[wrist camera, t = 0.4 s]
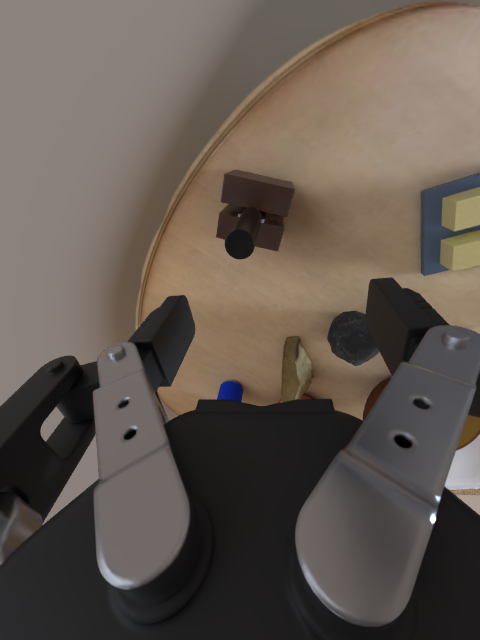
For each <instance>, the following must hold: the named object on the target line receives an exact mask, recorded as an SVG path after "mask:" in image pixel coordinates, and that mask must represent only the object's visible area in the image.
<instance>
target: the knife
mask: <svg viewBox="0 0 480 640" xmlns="http://www.w3.org/2000/svg"><path fill="white" fill-rule="evenodd" d="M238 217H239V218H238V220H237V221H236V223H235V224H234V226H233V227H232V229H231V231H230V232H229V234H228V235H227V237H226V239H225V248H226V251H227V252H228V254H229V255H230V256H232V257H233V258H236V259H245V258H247V257H249V256H250V255H251V254H252V252H253V250H254V247H255V243H256V240H257V236H258V232H259V229H260V225H261V223H264V221H265V217H266V212H263V211H259V210H258V209H256V208H254V207H249V208H245V207H243V208H242V210H241V211H240V213H239V214H238Z"/></svg>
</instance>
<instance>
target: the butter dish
mask: <svg viewBox="0 0 480 640" xmlns="http://www.w3.org/2000/svg"><path fill="white" fill-rule="evenodd" d="M477 187H480V173H477V174H474V175H470V176H467V177H464V178H461V179H458V180H455V181H451V182H448V183H445V184H442V185H439V186H435V187H432V188H429V189H426V190H423V191H421V274H423V275H424V276H425V275H430V274H434V273H438V272H443V271H447V270H449V269H447V268H446V267H444V266H443V265H441V264H440V249H441V240H442V239H446V238H450V237H454V236H458V235H462V234H465V233H469V232H473V231H477V230H480V225H477V226H473V227H470V228H466V229H462V230H458V231H452V230H450V229H448V228H446V227H443V226H441V222H442V198H444V197H447V196H451V195H454V194H457V193H461V192H464V191H467V190H471V189H474V188H477Z"/></svg>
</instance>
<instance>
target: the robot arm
mask: <svg viewBox="0 0 480 640" xmlns="http://www.w3.org/2000/svg"><path fill="white" fill-rule="evenodd" d="M366 322H367V326H368V329H369V331H370V333H371V335H372V337H373V339H374V341H375V343H376V345H377V347H378V349H379V351H380V353H381V355H382V357H383V359H384V361H385V363H386V365H387V367H388V369H389V371H390V373H391V375H392V377H391V379H390V381H389V382H388V384H387V385H386V387H385V388H384V390H383V391H382V393H381V395H380V396H379V398H378V399H377V401H376V402H375V404H374V405H373V407H372V409H371V410H370V412H369V413H368V415H367V416H366V418H365V419H364V421H362V420H360V419H358V418H356V417H354V416H351V415H349V414H346V413H343V412H340V411H335V410H334V407H333V402H332V399H296V400H291V401H286V402H282V403H277V404H272V405H268V406H256V405H251V404H247V403H242V402H238V401H233V400H199V401H198V404H197V407H196V410H193V411H190V412H187V413H184V414H182V415H180V416H178V417H176V418H174V419H172V420H170V421H169V420H168V417H167V415H166V412H165V410H164V407H163V405H162V402H161V399H160V397H159V395H158V392H157V389H158V388H159V387H166V386H171V384H172V382H173V380H174V378H175V376H176V374H177V372H178V369H179V367H180V365H181V363H182V361H183V359H184V357H185V355H186V352H187V350H188V348H189V346H190V344H191V342H192V340H193V337H194V335H195V324H194V320H193V317H192V314H191V310H190V307H189V304H188V300H187V298H186V296H184V295H180V296H169V297H167V298H166V300H165V301H164V302H163V304H162V305H161V306H160V307H159V308H157V309H156V310H154V311H153V312H151V313H150V314H149V315H148V317H147V318H146V319H145V321H144V322H143V323H142V324H141V327H139V328H138V329H137V330H136V332H135V333H134V334H133V335H132V337H131V338H130V339H129V340H128V342H121V343H118V344H115V345H113V346H110V347H109V348H107V349H105V350H104V351H103V352H102V353H101V354H100V355H99V357H98V359H97V361H96V362H92V363H88V364H85V365H80V364H79V362H78V361H77V360H76V358H75V357H74V356H64V357H60V358H57V359H55V360H52V361H51V362H49V363H47V364H45V365H44V366H42V367H41V368H40V369H39V370H38V371H37V372H36V373H35V374H34V375H33V376H32V377H31V378H30V379H28V380H27V382H25V384H23V385H22V386H21V387H20V388H19V389H18V390H17V391H16V392H15V393H14V394H13V395H12V396H11V397H10V398H9V399H8V400H7V401H6V402H5V403H4V404H3V405H2V406H0V640H480V515H479V514H477V513H476V512H475V511H474V510H472V509H471V508H470V507H469V506H468V505H467V504H465V503H464V502H463V501H462V500H460V499H459V498H458V497H457V496H456V495H455V494H453V493H452V492H451V491H450V490H448V489H447V488H446V487H445V483H446V480H447V477H448V473H449V470H450V467H451V464H452V461H453V458H454V455H455V452H456V449H457V446H458V443H459V440H460V437H461V434H462V431H463V428H464V425H465V422H466V419H467V415H470V416H474V417H479V418H480V334H478V333H476V332H474V331H472V330H469V329H466V328H463V327H458V326H451V325H449V324H448V323H447V322H446V321H445V320H444V319H443V318H442V317H441V316H440V315H439V314H438V313H437V312H436V311H435V310H434V308H432V306H431V305H430V304H429V303H428V302H426V300H425V299H424V298H423V297H422V296H421V295H420V294H419V293H416V292H414V291H412V290H410V289H408V288H403V289H402V288H401V286H400V285H399V284H398V283H397V282H396V281H395V280H394V279H393V278H392V277H391V278H379V279H371V280H370V283H369V290H368V299H367V308H366ZM55 407H57V408H58V409H59V410H60V412H61V413H62V414H63V415H64V418H63V420H62V421H61V423H60V424H59V425H58V426H57V428H56V429H55V430H54V432H53V433H52V434H51V436H50V437H49V439H48V440H47V441H46V442H45V441H44V440H43V438H42V437H41V434H40V429H41V426H42V424H43V422H44V420H45V419H46V418H47V417H48V416H49V414H50V413H51V412H52V411H53V409H54V408H55ZM95 434H96V443H97V457H98V471H99V479H98V480H97V481H96V482H94V483H93V484H92V485H91V486H90V487H88V488H87V489H86V490H85V491H84V492H82V493H81V494H80V495H79V496H78V497H76V498H75V499H74V500H73V501H71V502H70V503H69V504H68V505H67V506H65V507H64V508H63V509H62V510H61V511H59V512H58V513H57V514H56V515H55V516H53V517H52V518H51V519H50V520H49V521H47V522H46V523H45V524H44V525H43V526H42V524H43V522H44V520H45V518H46V517H47V515H48V513H49V512H50V510H51V508H52V507H53V505H54V503H55V502H56V500H57V498H58V497H59V495H60V493H61V492H62V490H63V488H64V486H65V485H66V483H67V481H68V480H69V478H70V476H71V475H72V473H73V471H74V470H75V468H76V466H77V465H78V463H79V461H80V460H81V458H82V456H83V455H84V453H85V451H86V449H87V448H88V446H89V445H90V443H91V441H92V439H93V437H94V436H95Z"/></svg>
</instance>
